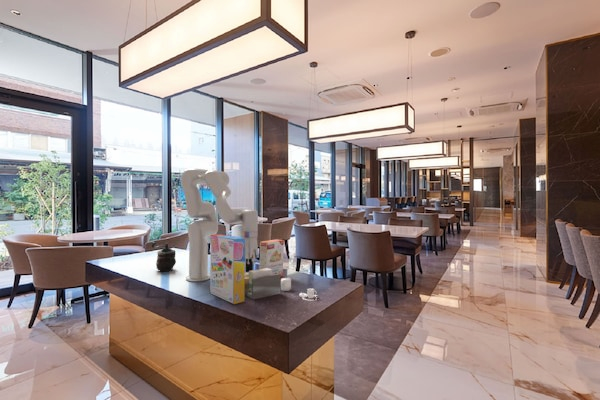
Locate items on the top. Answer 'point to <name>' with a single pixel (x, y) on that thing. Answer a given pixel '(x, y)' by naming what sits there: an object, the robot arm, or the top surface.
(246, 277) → the stand
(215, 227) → the robot arm
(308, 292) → the teacup and saucer
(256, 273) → the carton
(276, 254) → the cracker box
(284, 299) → the top surface
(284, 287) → the white rounded block
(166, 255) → the coffee grinder
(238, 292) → the game box
